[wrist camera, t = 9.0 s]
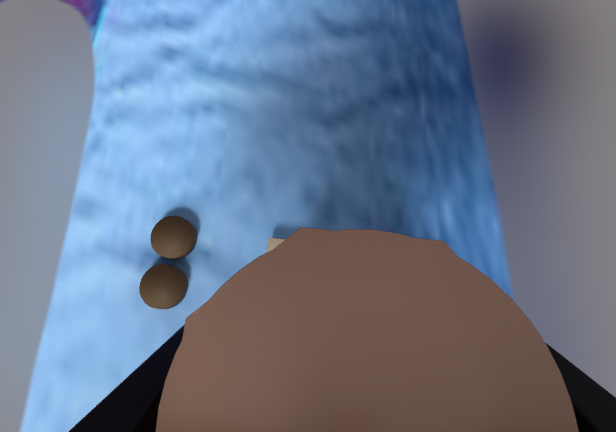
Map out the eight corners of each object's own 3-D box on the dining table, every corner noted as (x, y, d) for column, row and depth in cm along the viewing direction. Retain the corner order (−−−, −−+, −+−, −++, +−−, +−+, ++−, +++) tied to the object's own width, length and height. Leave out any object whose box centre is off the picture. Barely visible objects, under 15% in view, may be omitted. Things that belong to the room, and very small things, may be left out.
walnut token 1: (194, 261, 24) (188, 259, 23) (154, 258, 24) (146, 255, 23) (200, 221, 25) (195, 217, 24) (161, 218, 25) (154, 214, 24)
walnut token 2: (186, 310, 23) (179, 309, 22) (144, 308, 23) (136, 307, 22) (191, 266, 24) (185, 264, 23) (150, 265, 24) (143, 263, 23)
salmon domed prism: (425, 473, 15) (611, 765, 5) (245, 448, 15) (102, 669, 6) (430, 288, 16) (574, 243, 7) (268, 271, 17) (190, 207, 7)
